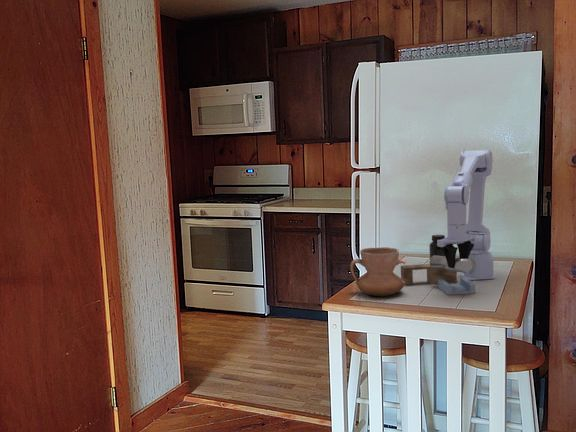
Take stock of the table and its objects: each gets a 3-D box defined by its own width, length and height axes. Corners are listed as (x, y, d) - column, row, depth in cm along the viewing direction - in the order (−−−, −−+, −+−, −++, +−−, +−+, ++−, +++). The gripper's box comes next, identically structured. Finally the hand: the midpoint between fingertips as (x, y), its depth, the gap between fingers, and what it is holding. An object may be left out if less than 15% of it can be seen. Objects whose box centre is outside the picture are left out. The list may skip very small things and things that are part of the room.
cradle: (464, 285, 180) (464, 277, 179) (475, 293, 171) (475, 284, 171) (438, 287, 179) (438, 279, 179) (447, 294, 171) (447, 286, 170)
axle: (440, 267, 183) (439, 254, 183) (476, 272, 169) (475, 258, 168) (430, 269, 181) (429, 256, 181) (465, 274, 167) (464, 260, 167)
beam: (452, 279, 189) (452, 262, 188) (456, 282, 185) (456, 264, 184) (401, 282, 188) (400, 265, 187) (404, 285, 184) (403, 268, 183)
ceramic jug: (410, 288, 180) (409, 246, 179) (404, 300, 167) (402, 254, 165) (356, 286, 187) (355, 245, 185) (346, 298, 173) (344, 253, 171)
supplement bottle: (450, 265, 211) (450, 234, 209) (445, 268, 205) (444, 237, 203) (433, 263, 214) (432, 233, 213) (427, 267, 209) (426, 236, 207)
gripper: (464, 220, 178) (465, 261, 179) (430, 225, 171) (431, 267, 173) (481, 222, 171) (481, 264, 173) (446, 227, 165) (446, 271, 167)
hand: (457, 266), depth 173 cm, fingers closed on axle, 4 cm apart
